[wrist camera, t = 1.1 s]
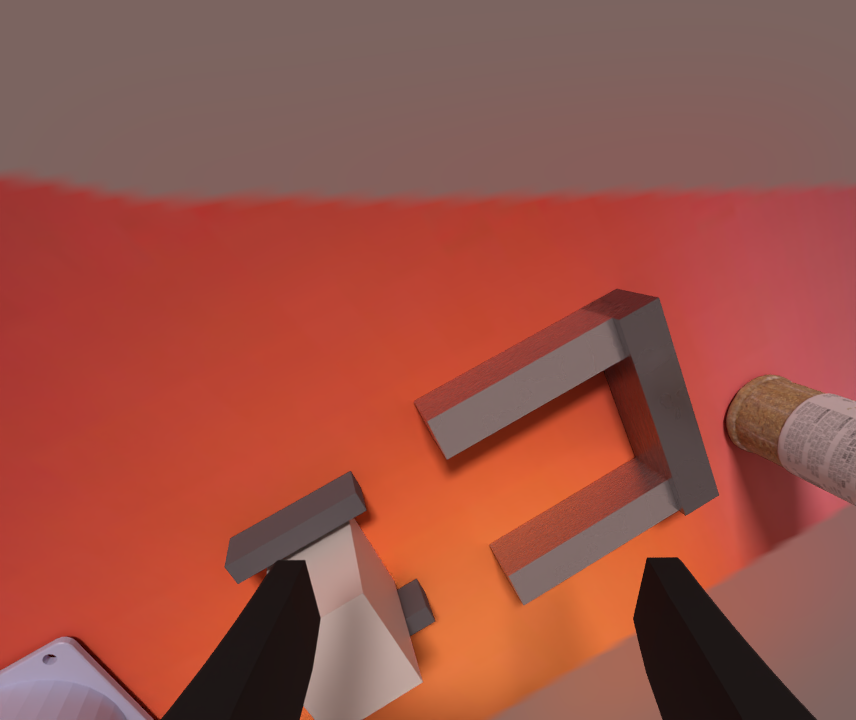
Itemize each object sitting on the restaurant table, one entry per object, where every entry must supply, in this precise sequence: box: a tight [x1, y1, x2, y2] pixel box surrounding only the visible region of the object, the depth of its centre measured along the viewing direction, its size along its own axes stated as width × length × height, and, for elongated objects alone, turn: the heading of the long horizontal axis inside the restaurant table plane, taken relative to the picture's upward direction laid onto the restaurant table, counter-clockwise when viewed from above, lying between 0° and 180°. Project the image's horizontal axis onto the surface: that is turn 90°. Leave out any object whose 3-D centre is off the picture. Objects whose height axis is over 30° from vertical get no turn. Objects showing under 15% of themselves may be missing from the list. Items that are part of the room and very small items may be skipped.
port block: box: [414, 289, 719, 605], centre depth 24 cm, size 11×11×3 cm
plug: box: [267, 518, 423, 720], centre depth 22 cm, size 4×5×6 cm
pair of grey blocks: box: [225, 471, 435, 636], centre depth 23 cm, size 6×8×2 cm
